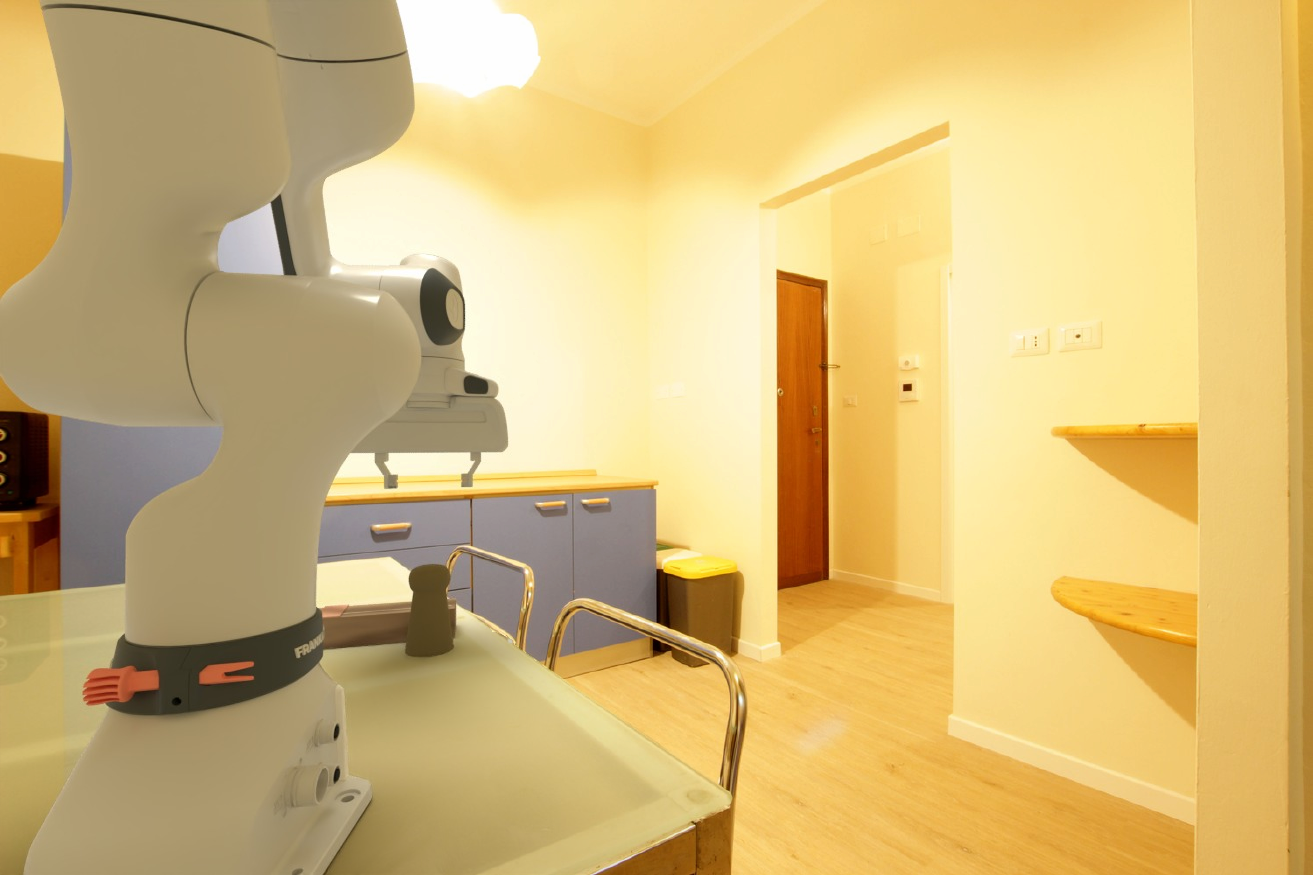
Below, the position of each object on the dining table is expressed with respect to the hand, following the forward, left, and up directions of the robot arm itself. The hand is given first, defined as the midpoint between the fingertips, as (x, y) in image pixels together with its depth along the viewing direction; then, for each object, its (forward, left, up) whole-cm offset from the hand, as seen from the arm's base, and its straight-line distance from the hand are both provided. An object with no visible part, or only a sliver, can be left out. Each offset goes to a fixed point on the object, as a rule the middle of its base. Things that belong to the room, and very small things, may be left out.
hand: (429, 487), depth 80 cm
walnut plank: (+7, +7, -21) cm, 23 cm away
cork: (0, 0, -21) cm, 21 cm away
